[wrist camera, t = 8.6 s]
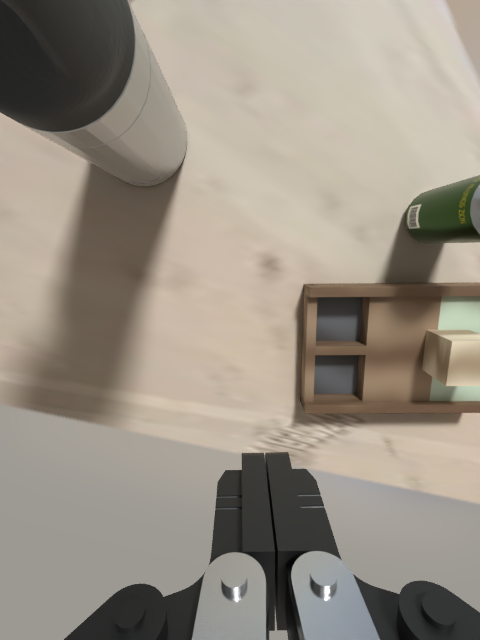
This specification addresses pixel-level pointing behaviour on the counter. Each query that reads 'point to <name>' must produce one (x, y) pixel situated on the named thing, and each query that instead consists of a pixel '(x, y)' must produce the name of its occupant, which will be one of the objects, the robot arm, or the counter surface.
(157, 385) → the counter surface
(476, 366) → the maple block
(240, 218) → the counter surface
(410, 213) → the beer can
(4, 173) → the counter surface
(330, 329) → the box
